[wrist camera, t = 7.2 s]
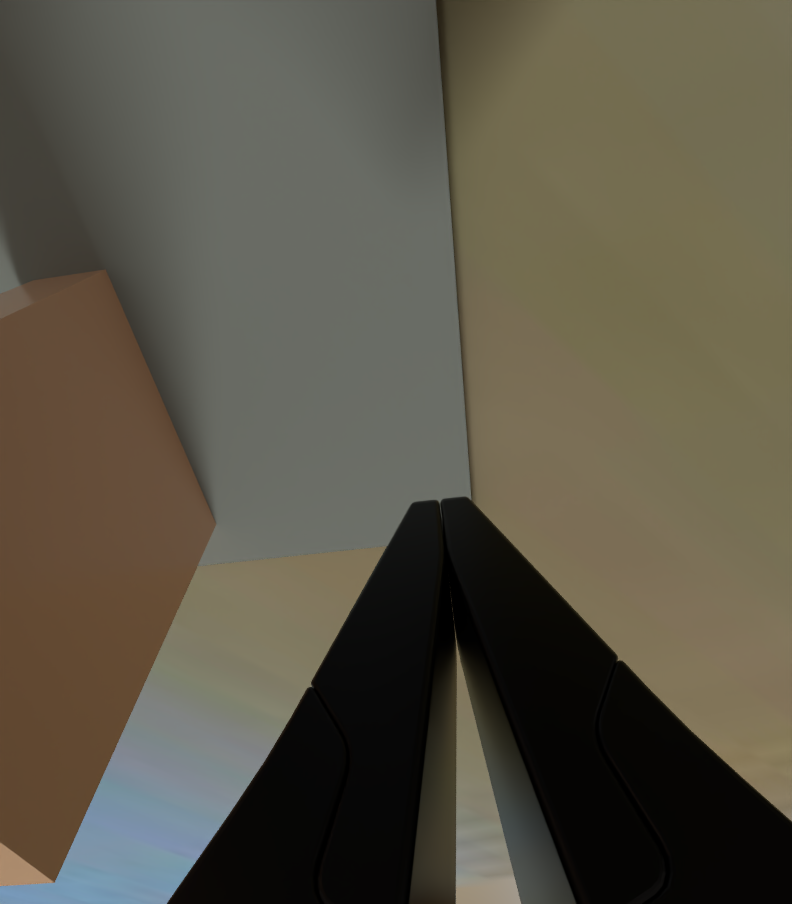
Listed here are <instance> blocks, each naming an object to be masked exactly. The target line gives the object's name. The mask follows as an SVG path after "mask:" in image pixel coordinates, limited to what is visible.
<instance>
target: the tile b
mask: <svg viewBox="0 0 792 904" xmlns="http://www.w3.org/2000/svg"><path fill="white" fill-rule="evenodd" d="M215 526H216V522H215V520H214V518H213V516H212V513H211V511H210V509H209V506H208V504H207V502H206V499H205V497H204V495H203V493H202V490H201V488H200V486H199V483H198V481H197V479H196V476H195V474H194V472H193V470H192V467H191V465H190V463H189V460H188V458H187V456H186V453H185V451H184V449H183V446H182V444H181V442H180V440H179V437H178V435H177V433H176V430H175V428H174V426H173V423H172V421H171V419H170V417H169V414H168V412H167V410H166V407H165V405H164V403H163V400H162V398H161V396H160V394H159V391H158V389H157V387H156V384H155V382H154V380H153V377H152V375H151V373H150V371H149V368H148V366H147V364H146V361H145V359H144V357H143V354H142V352H141V350H140V348H139V345H138V343H137V341H136V338H135V336H134V334H133V331H132V329H131V327H130V325H129V322H128V320H127V318H126V315H125V313H124V311H123V308H122V306H121V304H120V301H119V299H118V297H117V295H116V292H115V290H114V288H113V285H112V283H111V281H110V278H109V276H108V274H107V272H106V269H105V270H99V271H92V272H85V273H79V274H72V275H65V276H59V277H52V278H46V279H39V280H33V281H30V282H28V283H25V284H23V285H21V286H18V287H16V288H13V289H11V290H8V291H6V292H3V293H1V294H0V886H8V885H24V884H40V883H55V880H56V878H57V876H58V874H59V872H60V869H61V867H62V865H63V863H64V861H65V858H66V856H67V854H68V852H69V849H70V847H71V845H72V843H73V841H74V838H75V836H76V834H77V832H78V830H79V827H80V825H81V823H82V821H83V818H84V816H85V814H86V812H87V810H88V807H89V805H90V803H91V801H92V799H93V796H94V794H95V792H96V790H97V787H98V785H99V783H100V781H101V779H102V776H103V774H104V772H105V770H106V768H107V765H108V763H109V761H110V759H111V756H112V754H113V752H114V750H115V748H116V745H117V743H118V741H119V739H120V737H121V734H122V732H123V730H124V728H125V725H126V723H127V721H128V719H129V717H130V714H131V712H132V710H133V708H134V706H135V703H136V701H137V699H138V697H139V694H140V692H141V690H142V688H143V686H144V683H145V681H146V679H147V677H148V675H149V672H150V670H151V668H152V666H153V663H154V661H155V659H156V657H157V655H158V652H159V650H160V648H161V646H162V644H163V641H164V639H165V637H166V635H167V632H168V630H169V628H170V626H171V624H172V621H173V619H174V617H175V615H176V613H177V610H178V608H179V606H180V604H181V602H182V599H183V597H184V595H185V593H186V590H187V588H188V586H189V584H190V582H191V579H192V577H193V575H194V573H195V571H196V568H197V566H198V564H199V562H200V559H201V557H202V555H203V553H204V551H205V548H206V546H207V544H208V542H209V540H210V537H211V535H212V533H213V531H214V528H215Z"/></svg>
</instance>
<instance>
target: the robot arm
mask: <svg viewBox="0 0 792 904" xmlns="http://www.w3.org/2000/svg"><path fill="white" fill-rule="evenodd" d="M440 507H441V510H440ZM441 516H442V518H441ZM442 525H443V526H442ZM448 575H449V576H448ZM450 592H451V593H450ZM451 600H452V602H451ZM452 608H453V610H452ZM453 617H454V619H453ZM454 625H455V628H454ZM455 632H456V638H455ZM456 639H457V645H458V650H459V655H460V659H461V664H462V668H463V672H464V676H465V680H466V684H467V688H468V692H469V696H470V700H471V704H472V708H473V712H474V716H475V720H476V724H477V728H478V732H479V736H480V740H481V744H482V748H483V752H484V756H485V760H486V764H487V768H488V772H489V776H490V780H491V784H492V788H493V792H494V796H495V800H496V804H497V808H498V812H499V816H500V820H501V824H502V828H503V832H504V836H505V840H506V844H507V848H508V852H509V856H510V860H511V864H512V868H513V872H514V876H515V880H516V884H517V888H518V892H519V896H520V900H521V904H792V821H791V820H790V819H788V818H787V817H786V816H785V815H784V814H783V813H782V812H780V811H779V810H778V809H777V808H776V807H775V806H774V805H773V804H771V803H770V802H769V801H768V800H767V799H766V798H765V797H763V796H762V795H761V794H760V793H759V792H758V791H757V790H756V789H754V788H753V787H752V786H751V785H750V784H749V783H748V782H746V781H745V780H744V779H743V778H742V777H741V776H740V775H739V774H738V773H737V772H735V771H734V770H733V769H732V768H731V767H730V766H729V765H728V764H727V763H726V762H725V761H723V760H722V759H721V758H720V757H719V756H718V755H717V754H716V753H715V752H714V751H713V750H711V749H710V748H709V747H708V746H707V745H706V744H705V743H704V742H703V741H702V740H701V739H699V738H698V737H697V736H696V735H695V734H694V733H693V732H692V731H691V730H690V729H689V728H688V727H687V726H686V725H685V724H684V723H683V722H682V721H681V720H680V719H679V718H678V717H677V716H676V715H675V714H674V713H673V712H672V711H671V710H670V709H669V708H668V707H667V706H666V705H665V704H664V703H663V702H662V701H661V700H660V699H659V698H658V697H657V696H656V695H655V694H654V693H653V692H652V691H651V690H650V689H649V688H648V687H647V686H646V685H645V684H644V683H643V682H642V681H641V680H640V679H639V677H638V676H637V675H636V674H635V673H634V672H633V671H632V670H631V669H630V668H629V667H628V666H627V665H626V664H625V663H624V662H623V661H618V656H617V655H616V653H615V652H614V651H613V650H612V649H611V648H610V647H609V646H608V645H607V644H606V643H605V642H604V641H603V640H602V639H601V637H600V636H599V635H598V634H597V633H596V632H595V631H594V630H593V629H592V628H591V627H590V626H589V625H588V624H587V623H586V622H585V621H584V619H583V618H582V617H581V616H580V615H579V614H578V613H577V612H576V611H575V610H574V609H573V608H572V607H571V606H570V605H569V604H568V603H567V601H566V600H565V599H564V598H563V597H562V596H561V595H560V594H559V593H558V592H557V591H556V590H555V589H554V588H553V587H552V586H551V585H550V583H549V582H548V581H547V580H546V579H545V578H544V577H543V576H542V575H541V574H540V573H539V572H538V571H537V570H536V569H535V568H534V566H533V565H532V564H531V563H530V562H529V561H528V560H527V559H526V558H525V557H524V556H523V555H522V554H521V553H520V552H519V551H518V550H517V548H516V547H515V546H514V545H513V544H512V543H511V542H510V541H509V540H508V539H507V538H506V537H505V536H504V535H503V534H502V533H501V532H500V530H499V529H498V528H497V527H496V526H495V525H494V524H493V523H492V522H491V521H490V520H489V519H488V518H487V517H486V516H485V515H484V513H483V512H482V511H481V510H480V509H479V508H478V507H477V506H476V505H475V504H474V503H473V502H472V501H471V500H470V499H469V498H468V497H466V496H461V497H452V498H444V499H442V500H441V502H440V503H439V501H438V500H425V501H416V502H413V503H412V504H411V505H410V507H409V508H408V510H407V512H406V514H405V515H404V517H403V519H402V521H401V523H400V524H399V526H398V528H397V530H396V531H395V533H394V535H393V537H392V539H391V540H390V542H389V544H388V546H387V548H386V549H385V551H384V553H383V555H382V556H381V558H380V560H379V562H378V564H377V565H376V567H375V569H374V571H373V572H372V574H371V576H370V578H369V580H368V581H367V583H366V585H365V587H364V589H363V590H362V592H361V594H360V596H359V597H358V599H357V601H356V603H355V605H354V606H353V608H352V610H351V612H350V614H349V615H348V617H347V619H346V621H345V622H344V624H343V626H342V628H341V630H340V631H339V633H338V635H337V637H336V638H335V640H334V642H333V644H332V646H331V647H330V649H329V651H328V653H327V655H326V656H325V658H324V660H323V662H322V663H321V665H320V667H319V669H318V671H317V672H316V674H315V676H314V678H313V680H312V681H311V685H312V687H309V688H307V690H306V691H305V693H304V695H303V697H302V699H301V700H300V702H299V704H298V706H297V708H296V709H295V711H294V713H293V715H292V717H291V718H290V720H289V722H288V723H287V725H286V727H285V728H284V730H283V732H282V733H281V735H280V737H279V738H278V740H277V742H276V743H275V745H274V747H273V748H272V750H271V752H270V753H269V755H268V757H267V758H266V760H265V762H264V763H263V765H262V766H261V768H260V769H259V771H258V772H257V774H256V775H255V777H254V778H253V780H252V781H251V783H250V784H249V786H248V787H247V789H246V790H245V792H244V793H243V795H242V796H241V797H240V799H239V800H238V802H237V803H236V805H235V806H234V808H233V809H232V811H231V812H230V814H229V815H228V817H227V818H226V820H225V821H224V822H223V824H222V825H221V827H220V828H219V830H218V831H217V832H216V834H215V835H214V837H213V838H212V840H211V841H210V843H209V844H208V845H207V847H206V848H205V850H204V851H203V853H202V854H201V855H200V857H199V858H198V860H197V861H196V863H195V864H194V865H193V867H192V868H191V870H190V871H189V873H188V874H187V875H186V877H185V878H184V880H183V881H182V883H181V884H180V885H179V887H178V888H177V890H176V891H175V893H174V894H173V895H172V897H171V898H170V900H169V901H168V903H167V904H456V695H457V657H456Z"/></svg>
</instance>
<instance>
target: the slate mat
mask: <svg viewBox="0 0 792 904" xmlns="http://www.w3.org/2000/svg"><path fill="white" fill-rule="evenodd" d="M105 269H106V272H107V274H108V276H109V278H110V281H111V283H112V285H113V288H114V290H115V292H116V295H117V297H118V299H119V301H120V304H121V306H122V308H123V311H124V313H125V315H126V318H127V320H128V322H129V325H130V327H131V329H132V331H133V334H134V336H135V338H136V341H137V343H138V345H139V348H140V350H141V352H142V354H143V357H144V359H145V361H146V364H147V366H148V368H149V371H150V373H151V375H152V377H153V380H154V382H155V384H156V387H157V389H158V391H159V394H160V396H161V398H162V400H163V403H164V405H165V407H166V410H167V412H168V414H169V417H170V419H171V421H172V423H173V426H174V428H175V430H176V433H177V435H178V437H179V440H180V442H181V444H182V446H183V449H184V451H185V453H186V456H187V458H188V460H189V463H190V465H191V467H192V470H193V472H194V474H195V476H196V479H197V481H198V483H199V486H200V488H201V490H202V493H203V495H204V497H205V499H206V502H207V504H208V506H209V509H210V511H211V513H212V516H213V518H214V520H215V522H216V526H215V528H214V531H213V533H212V535H211V537H210V540H209V542H208V544H207V546H206V548H205V551H204V553H203V555H202V557H201V559H200V562H199V564H198V566H203V565H213V564H222V563H232V562H241V561H250V560H260V559H269V558H279V557H288V556H297V555H307V554H316V553H326V552H335V551H344V550H354V549H363V548H373V547H382V546H388V544H389V542H390V540H391V539H392V537H393V535H394V533H395V531H396V530H397V528H398V526H399V524H400V523H401V521H402V519H403V517H404V515H405V514H406V512H407V510H408V508H409V507H410V505H411V504H412V503H413V502H416V501H425V500H438V501H439V503H440V502H441V500H442V499H444V498H452V497H461V496H466V497H468V498H469V499H470V500H471V488H470V474H469V460H468V446H467V432H466V417H465V403H464V389H463V375H462V361H461V347H460V333H459V319H458V305H457V291H456V277H455V263H454V249H453V235H452V221H451V207H450V193H449V178H448V164H447V150H446V136H445V122H444V108H443V94H442V80H441V66H440V52H439V38H438V24H437V10H436V0H0V294H1V293H3V292H6V291H8V290H11V289H13V288H16V287H18V286H21V285H23V284H25V283H28V282H30V281H33V280H39V279H46V278H52V277H59V276H65V275H72V274H79V273H85V272H92V271H99V270H105ZM440 510H441V507H440ZM441 518H442V516H441ZM442 526H443V525H442Z"/></svg>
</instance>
